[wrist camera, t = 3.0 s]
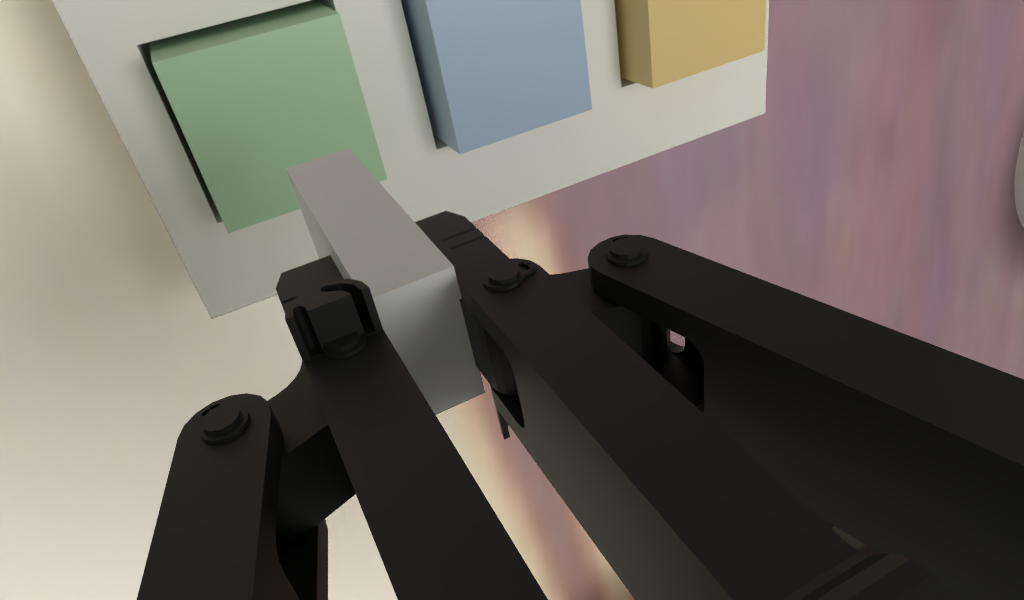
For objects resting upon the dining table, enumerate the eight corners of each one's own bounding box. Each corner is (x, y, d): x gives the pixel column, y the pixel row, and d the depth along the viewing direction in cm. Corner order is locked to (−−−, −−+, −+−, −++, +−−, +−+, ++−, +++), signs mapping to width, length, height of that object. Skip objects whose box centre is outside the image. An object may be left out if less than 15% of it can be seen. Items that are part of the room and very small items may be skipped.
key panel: (683, -207, 33) (777, -226, 28) (691, 88, 41) (765, 112, 36) (38, -75, 25) (16, -70, 20) (199, 259, 33) (211, 319, 28)
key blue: (526, -56, 29) (575, -50, 26) (546, 88, 32) (592, 109, 29) (389, -20, 27) (423, -10, 24) (425, 128, 30) (459, 154, 27)
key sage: (314, -1, 26) (339, 12, 23) (359, 149, 30) (387, 179, 27) (149, 42, 25) (151, 63, 22) (216, 195, 28) (227, 233, 25)
